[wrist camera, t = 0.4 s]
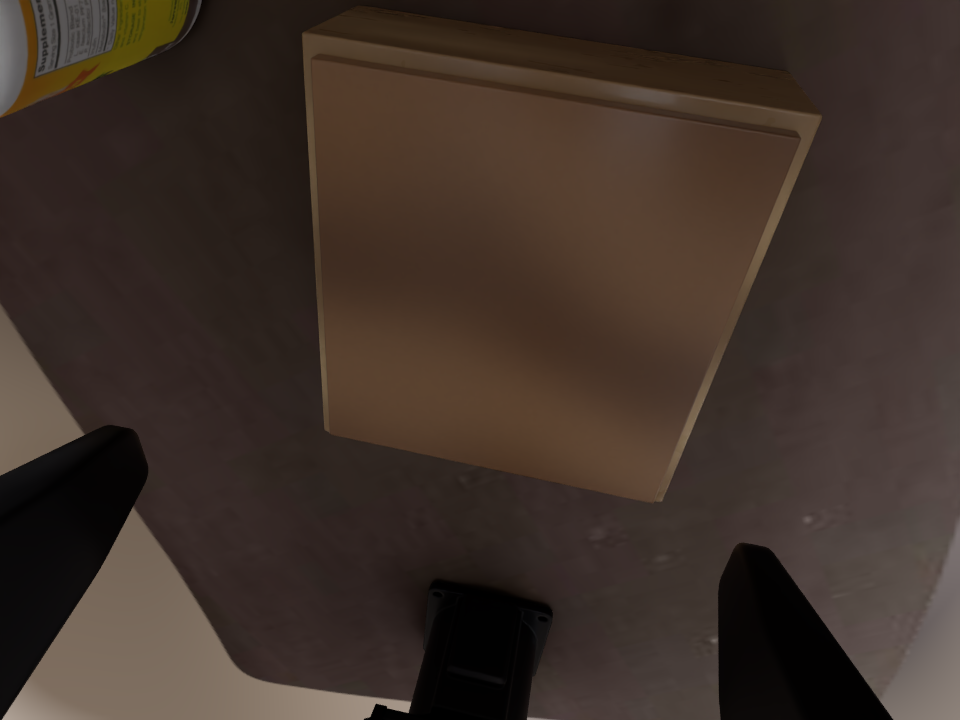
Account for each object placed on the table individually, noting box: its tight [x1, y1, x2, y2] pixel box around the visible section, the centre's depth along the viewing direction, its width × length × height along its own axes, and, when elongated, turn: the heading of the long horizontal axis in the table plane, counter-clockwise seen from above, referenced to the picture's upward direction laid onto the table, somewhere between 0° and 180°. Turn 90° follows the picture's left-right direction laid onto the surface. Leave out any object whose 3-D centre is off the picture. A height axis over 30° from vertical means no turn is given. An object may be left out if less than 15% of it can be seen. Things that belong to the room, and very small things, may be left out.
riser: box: [302, 5, 822, 503], centre depth 20 cm, size 13×12×4 cm
